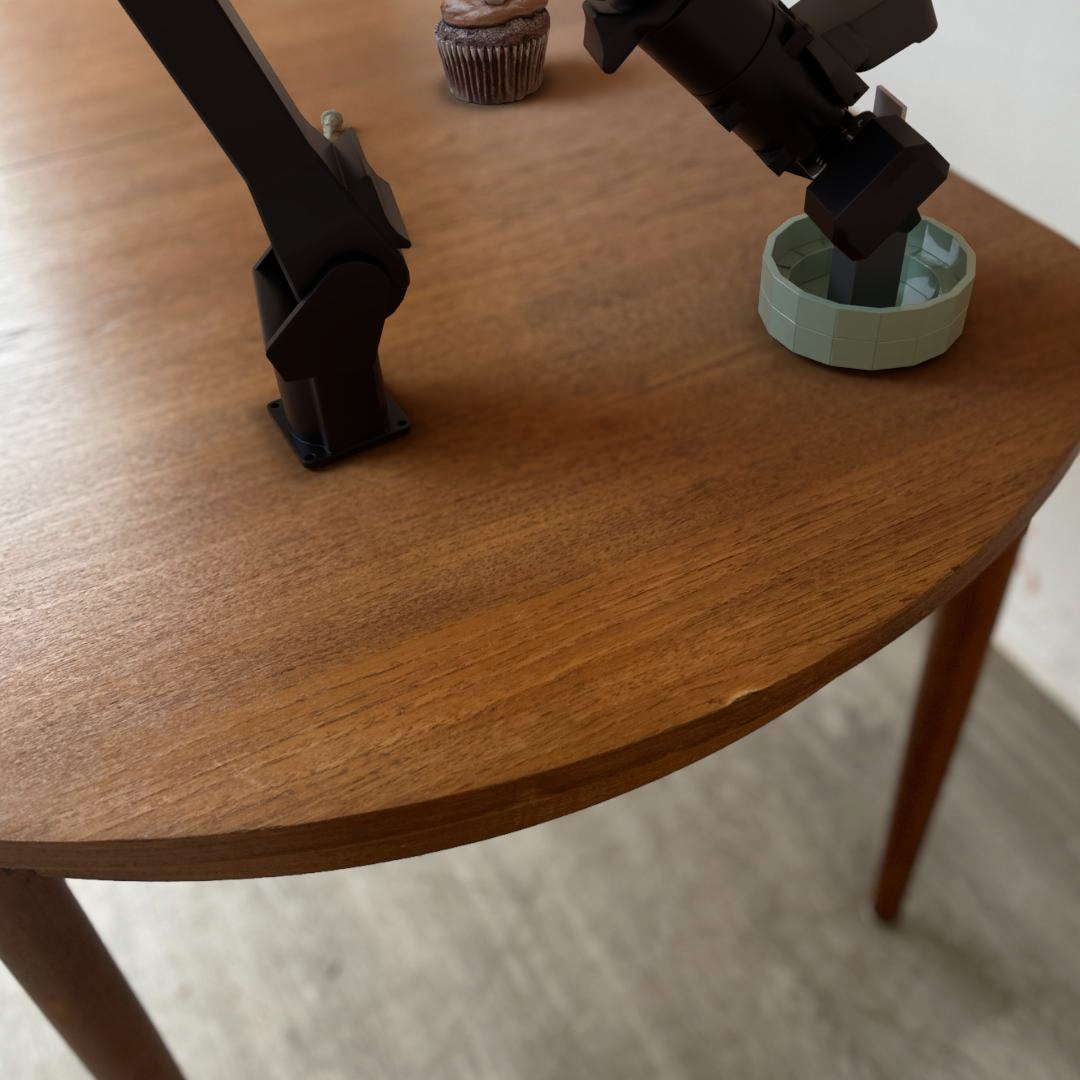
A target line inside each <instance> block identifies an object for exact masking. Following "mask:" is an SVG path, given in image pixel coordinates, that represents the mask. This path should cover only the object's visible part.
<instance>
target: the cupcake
mask: <svg viewBox="0 0 1080 1080" xmlns="http://www.w3.org/2000/svg"><path fill="white" fill-rule="evenodd" d="M548 4H549V0H442V2H441V3H440V6H439V8H440V15H441V18H440V19H439V20H438V22H436V25H434V28H433V32H432V35H433V38H434V41H435V44H436V47H437V50H438V53H439V57H440V59H441V63H442V68H443V71H444V75H445V79H446V82H447V85H448V88H449V90H450V93H451V94H452V95H454V96H455V98H457V99H459V100H461V101H462V102H463V101H464V102H467V103H474V104H480V105H501V104H505V103H513V102H516V101H522V100H523V99H524V98H525V97H527V96H529V95H531V94H533V93H535V92H537V90H538V89H539V88H540V87H541V86H542V83H543V76H544V70H545V69H544V68H545V62H546V61H545V60H546V53H547V48H548V43H549V35H550V30H551V16H550V13H549V11H548V9H547V8H546V7H548Z"/></svg>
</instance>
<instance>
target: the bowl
mask: <svg viewBox="0 0 1080 1080" xmlns="http://www.w3.org/2000/svg"><path fill="white" fill-rule="evenodd" d="M920 215H921V218H922V219H921V221H920V223H919V224H918V225H917V226H916V227H915V228H914V229H913V230H912V231H911V232H909V233H908V237H907V243H906V248H905V254H904V260H903V265H902V271H901V277H900V283H899V288H898V294H897V300H896V305H895V307H887V308H874V307H864V306H855V305H846V304H839V303H836V302H833V301H830V300H827V293H828V285H829V277H830V270H831V262H832V254H833V246H834V244H832V243H831V241H830V240H829V239H828V238H827V237H826V236H825V235H824V234H823V232H822V231H821V230H820V229H819V228H818V227H817V226H816V225H815V223H814V222H813V221H812V220H811V219H810V218H809V217H808V215H807V214H806V213H805V212H803V213H801V214H798V215H795V216H793V217H789V218H787V219H786V220H785V221H784V222H783V223H781V225H780V226H778V227H777V228H776V229H774V230H773V231H772V232H771V233H770V234H769V235H768V236H767V240H766V243H765V247H764V250H763V253H762V261H761V262H762V263H761V271H760V273H761V274H760V285H759V297H758V304H757V305H758V306H757V312H758V314H759V316H760V318H761V320H762V322H763V325H764V327H765V329H766V331H767V333H768V334H769V335H770V336H771V337H772V338H774V339H775V340H776V341H778V342H779V343H780V344H781V345H783V346H784V347H785V348H787V349H788V350H789V351H790V352H792V353H794V354H796V355H799V356H801V357H805V358H808V359H811V360H813V361H816V362H819V363H822V364H823V365H827V366H831V367H839V368H847V369H856V370H862V371H863V370H865V371H879V370H880V371H881V370H888V369H897V368H904V367H905V368H906V367H914V366H916V365H919V364H921V363H923V362H926V361H928V360H930V359H931V360H932V359H934V358H935V357H937V356H940V355H943V354H945V353H946V351H948V350H949V349H950V347H951V346H952V345H953V344H954V343H955V342H956V340H957V339H958V338H959V337H961V335H962V334H963V331H964V328H965V327H964V326H965V322H966V318H967V314H968V309H969V305H970V300H971V296H972V291H973V288H974V283H975V279H976V268H977V267H976V266H977V264H976V263H977V255H976V253H975V252H974V250H973V249H972V247H971V246H970V245H969V244H968V242H967V241H966V239H965V238H964V237H963V236H962V234H961V233H959V232H957V231H956V230H954V229H952V228H950V227H949V226H947V225H945V224H944V223H942V222H940V221H938V220H937V219H935V218H934V217H931V216H928V215H924V214H920Z"/></svg>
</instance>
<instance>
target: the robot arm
mask: <svg viewBox="0 0 1080 1080" xmlns="http://www.w3.org/2000/svg"><path fill="white" fill-rule="evenodd" d="M117 2H118V3H119V5H120V6H121V8H122V9H123V10H124V12H125V13H126V15H127V16H128V17H129V19H130V20H131V22H132V23H133V24H134V26H135V27H136V29H137V30H138V32H139V33H140V35H141V36H142V37H143V39H144V40H145V42H146V43H147V44H148V46H149V47H150V49H151V50H152V52H153V53H154V55H155V56H156V57H157V59H158V60H159V62H160V63H161V64H162V66H163V67H164V69H165V70H166V72H167V73H168V75H169V76H170V77H171V79H172V80H173V82H174V83H175V84H176V86H177V87H178V88H179V89H180V91H181V93H182V94H183V96H184V97H185V98H186V100H187V101H188V103H189V104H190V105H191V107H192V108H193V110H194V111H195V113H196V114H197V115H198V117H199V118H200V120H201V121H202V123H203V124H204V126H205V127H206V129H207V130H208V131H209V133H210V134H211V135H212V137H213V138H214V140H215V142H216V143H217V144H218V145H219V147H220V148H221V151H223V152H224V154H225V155H226V157H227V159H228V160H229V161H230V163H231V164H232V165H233V167H234V168H235V169H236V171H237V173H238V174H239V175H240V176H241V178H242V179H243V181H244V182H245V184H246V187H247V188H248V190H249V191H248V192H249V194H250V195H251V198H252V200H253V202H254V206H255V208H256V211H257V212H258V215H259V218H260V220H261V224H262V225H263V227H264V230H265V233H266V235H267V237H268V240H269V243H270V244H269V245H268V246H267V248H266V249H265V250H264V252H263V253H262V255H260V257H259V259H258V260H257V261H256V262H255V263H254V265H253V266H252V268H251V274H252V281H253V287H254V292H255V298H256V299H255V300H256V304H257V310H258V316H259V323H260V329H261V336H262V341H263V347H264V353H265V356H266V359H267V360H268V361H269V362H270V364H271V365H272V367H273V372H274V375H275V380H276V384H277V388H278V392H279V395H280V398H277V399H275V400H272V401H270V402H269V403H267V405H266V410H267V413H268V415H269V418H271V421H272V422H273V423H274V424H275V426H276V427H277V429H278V431H279V432H280V434H281V436H282V437H283V439H284V440H285V441H286V443H287V444H288V446H289V447H290V449H291V450H292V452H293V454H294V455H295V457H296V458H297V459H298V461H299V462H300V464H301V465H302V467H303V468H304V469H307V470H313V469H316V468H320V467H322V466H324V465H326V464H329V463H332V462H336V461H338V460H339V459H343V458H345V457H348V456H350V455H353V454H356V453H358V452H362V451H364V450H366V449H370V448H372V447H375V446H377V445H380V444H383V443H385V442H388V441H390V440H393V439H396V438H398V437H401V436H404V435H407V434H408V433H410V432H411V431H412V422H411V420H410V418H409V417H408V416H407V415H406V413H405V412H404V411H403V410H402V408H401V407H400V406H399V405H398V403H397V402H396V401H395V400H394V398H393V397H392V396H391V395H390V393H389V392H388V391H387V390H386V388H385V384H384V379H383V373H382V372H383V371H382V366H381V360H380V355H379V347H380V343H381V338H382V336H383V335H382V334H383V331H384V327H385V323H386V320H387V319H388V318H389V317H391V316H392V315H393V314H395V312H396V311H397V310H398V308H399V307H400V305H401V304H402V303H403V301H404V300H405V296H406V294H407V291H408V288H409V286H410V284H411V277H410V269H409V267H408V264H407V261H406V259H405V256H404V253H403V250H402V249H404V250H405V249H406V250H407V249H410V248H411V247H412V246H413V245H412V241H411V239H410V236H409V233H408V231H407V227H406V225H405V222H404V220H403V216H402V215H401V211H400V209H399V206H398V204H397V201H396V198H395V195H394V192H393V190H392V187H391V184H390V183H389V182H388V181H387V180H385V179H384V178H382V177H381V176H379V175H378V174H377V173H376V171H375V169H373V168H372V166H371V165H370V163H369V161H368V159H367V157H366V155H365V153H364V150H363V148H362V145H361V142H360V140H359V137H358V134H357V131H356V129H355V127H353V126H351V127H349V128H347V129H346V130H345V131H344V132H343V133H341V134H340V135H339V136H338V137H336V138H335V139H333V140H332V142H331V141H330V140H329V139H327V138H326V137H325V136H324V135H323V134H324V133H322V132H320V131H319V130H318V129H317V128H316V127H314V126H313V125H312V123H310V121H308V120H307V118H306V117H304V115H303V114H302V113H301V111H300V109H299V108H298V106H297V104H296V103H295V102H294V100H293V98H292V96H291V95H290V93H289V92H288V90H287V89H286V88H285V86H284V83H283V82H282V81H281V79H280V77H279V76H278V75H277V73H276V72H275V70H274V69H273V67H272V65H271V64H270V61H268V59H267V57H266V55H265V54H264V52H263V51H262V49H261V48H260V47H259V45H258V43H257V41H256V40H255V39H254V37H253V35H252V34H251V32H250V30H249V29H248V27H247V25H246V24H245V22H244V21H243V19H242V18H241V16H240V14H239V12H238V11H237V10H236V8H235V6H234V5H233V4H232V2H231V0H117ZM581 8H582V11H583V14H584V18H585V19H584V20H585V23H584V30H583V31H584V32H583V33H584V34H583V41H582V45H583V48H584V49H585V50H586V51H587V53H588V54H589V55H590V56H591V58H592V59H593V61H594V62H595V63H596V64H597V66H598V67H599V68H600V70H601V71H602V72H603V73H604V74H605V75H613V74H615V73H616V72H617V71H618V69H619V68H620V67H621V66H622V65H623V63H624V62H625V61H626V60H627V59H628V58H629V57H630V55H631V54H632V53H633V51H634V50H635V49H636V48H637V47H639V49H641V50H642V52H644V53H645V54H646V55H647V56H649V58H650V59H652V61H654V62H655V63H656V64H658V66H659V67H661V68H662V69H663V70H664V71H665V72H666V73H667V74H668V75H669V76H671V77H672V78H673V79H674V81H676V82H677V83H678V84H680V85H681V86H682V88H684V89H685V90H686V91H687V92H688V93H689V94H690V95H691V96H693V97H694V98H695V99H696V100H697V101H698V102H699V103H700V104H701V105H702V106H703V107H704V109H706V111H707V112H708V113H709V114H710V115H711V116H712V117H713V119H714V120H715V121H716V122H717V123H718V124H719V125H720V126H722V128H724V130H726V131H727V132H728V133H731V132H733V134H735V135H736V136H737V137H738V138H739V139H740V140H741V141H743V143H745V144H746V145H747V146H748V147H749V148H750V149H751V150H752V151H753V152H754V154H755V155H756V156H757V157H758V158H759V159H760V160H761V161H762V163H763V164H764V165H765V166H766V167H767V168H768V169H769V170H770V171H772V173H774V174H775V175H776V176H777V177H778V178H780V177H781V176H782V175H783V174H784V173H785V172H786V173H789V174H792V175H795V176H797V177H801V178H804V179H806V180H808V181H811V182H810V183H809V184H808V185H807V186H806V187H805V196H804V204H803V213H806V214H807V215H808V217H809V218H810V219H811V220H812V221H813V222H814V223H815V225H816V226H817V227H818V228H819V229H820V230H821V231H822V232H823V234H824V235H825V236H826V237H827V238H828V239H829V240H830V241H831V243H832V244H834V245H835V246H836V247H837V248H838V249H839V250H840V251H841V252H843V253H844V254H845V255H846V256H847V257H848V258H849V259H850V260H852V261H853V262H854V261H859V260H864V259H867V258H868V257H869V256H870V255H871V254H872V253H873V252H874V251H875V250H876V249H877V248H878V247H879V246H880V245H881V244H882V243H883V242H884V241H885V240H886V239H887V238H888V237H889V236H890V235H891V234H892V233H893V232H900V233H909V232H911V231H912V230H913V229H914V228H915V227H916V226H917V225H918V224H919V223H920V221H921V219H922V218H921V215H922V214H920V211H919V209H918V208H919V207H920V206H921V205H923V204H924V202H925V201H926V200H927V199H928V198H929V197H930V196H931V195H932V194H933V193H935V191H936V190H937V189H938V188H939V187H940V186H941V185H942V184H943V183H945V181H946V180H948V175H949V171H950V168H951V167H950V166H951V163H950V162H949V161H948V160H947V159H946V158H945V157H944V156H943V155H942V154H941V152H940V151H938V150H937V149H936V147H935V146H934V145H933V144H932V143H931V142H930V141H928V140H927V139H926V138H925V137H924V136H923V135H922V134H921V133H919V132H918V130H916V129H915V128H914V127H913V126H911V125H910V124H909V123H908V122H907V121H906V120H905V121H904V120H903V119H902V118H901V117H900V116H899V115H898V114H892V115H886V116H881V117H877V116H876V115H875V114H874V113H873V111H871V110H864V111H861V112H860V113H858V114H853V113H852V112H851V111H850V110H849V109H850V108H851V107H853V106H854V105H855V104H857V102H858V101H859V100H860V99H861V98H862V97H863V96H864V95H865V94H866V93H867V92H868V91H869V90H870V89H871V88H870V86H869V84H868V83H866V81H864V80H863V78H861V76H859V74H861V73H866V72H869V71H870V70H873V69H875V68H876V67H878V66H880V65H881V64H883V63H884V62H886V61H888V60H889V59H891V58H893V57H894V56H896V55H898V54H899V53H900V52H902V51H904V50H905V49H907V48H908V47H910V46H911V45H913V44H921V43H923V42H924V41H926V40H928V39H929V38H930V37H932V36H933V35H934V34H935V33H936V31H937V29H938V28H939V24H938V23H939V22H938V19H937V15H936V12H935V8H934V4H933V0H798V1H797V2H796V3H794V4H793V5H791V6H790V7H788V6H787V5H786V4H785V3H784V2H783V1H782V0H583V2H582V5H581Z"/></svg>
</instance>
